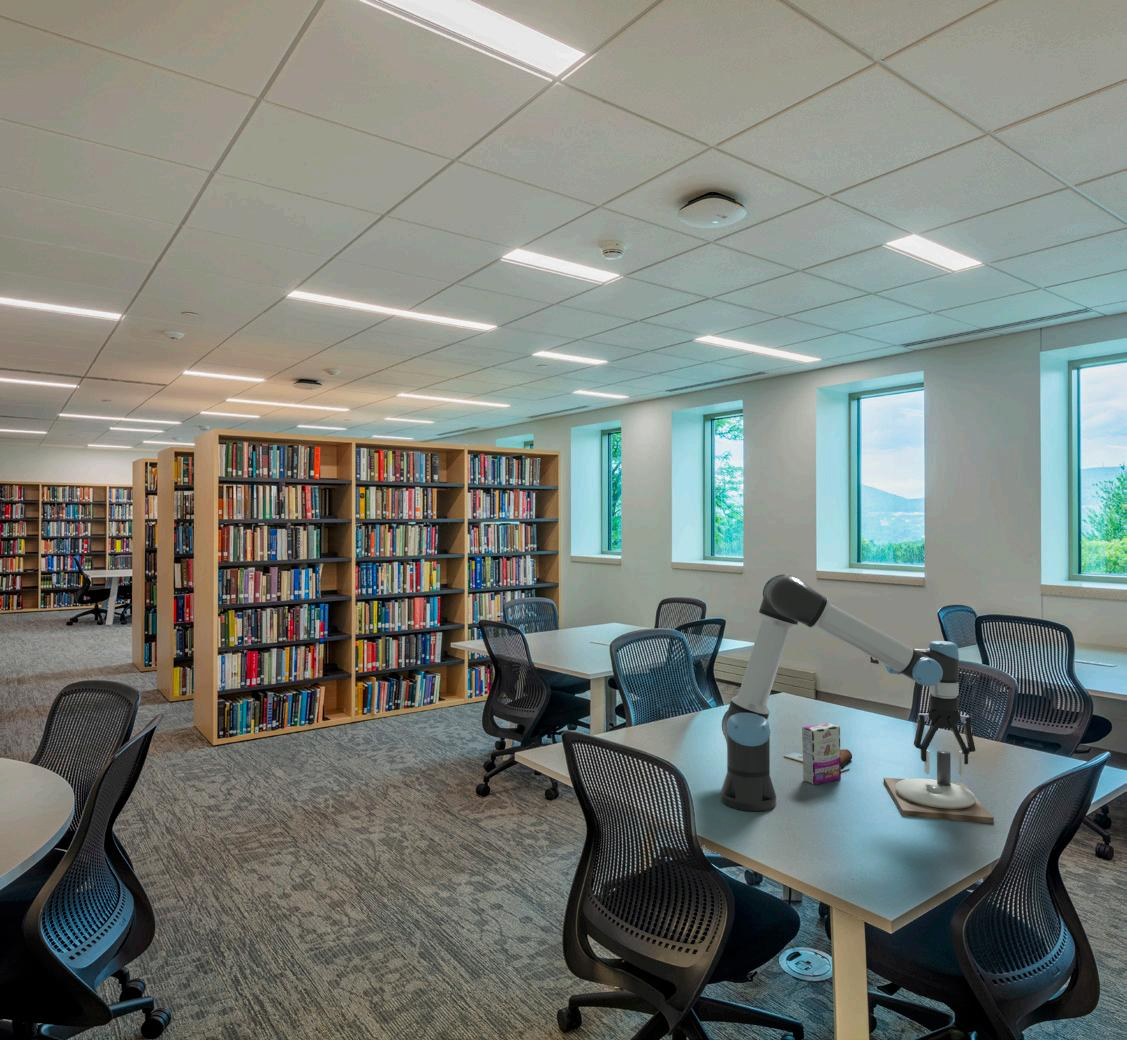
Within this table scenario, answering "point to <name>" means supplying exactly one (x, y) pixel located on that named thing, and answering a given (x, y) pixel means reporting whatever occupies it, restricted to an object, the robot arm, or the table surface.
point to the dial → (937, 788)
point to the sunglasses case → (845, 756)
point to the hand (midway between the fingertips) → (944, 773)
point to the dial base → (917, 810)
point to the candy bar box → (821, 753)
